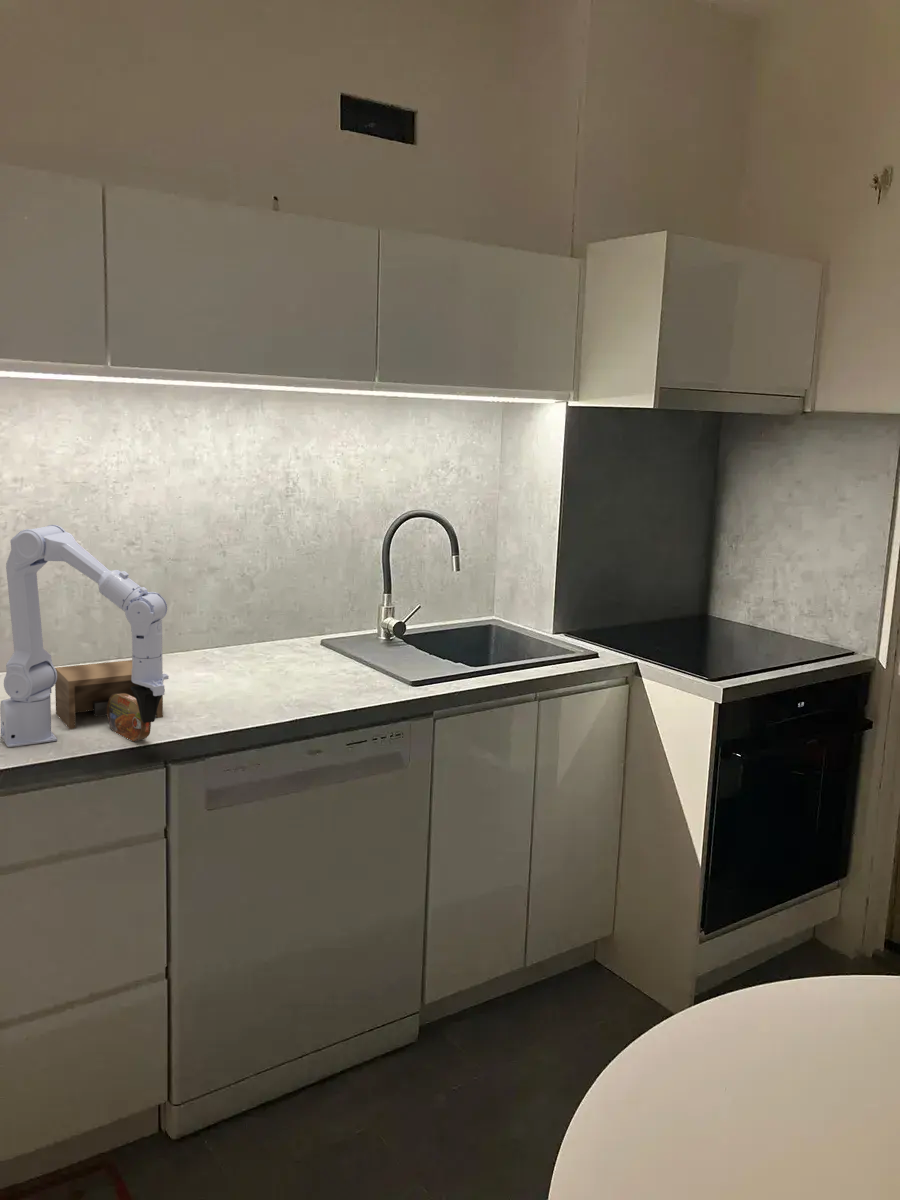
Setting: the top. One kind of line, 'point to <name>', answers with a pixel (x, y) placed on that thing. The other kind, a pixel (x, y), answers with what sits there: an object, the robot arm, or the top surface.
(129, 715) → the tin
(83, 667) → the shelf
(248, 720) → the top surface
